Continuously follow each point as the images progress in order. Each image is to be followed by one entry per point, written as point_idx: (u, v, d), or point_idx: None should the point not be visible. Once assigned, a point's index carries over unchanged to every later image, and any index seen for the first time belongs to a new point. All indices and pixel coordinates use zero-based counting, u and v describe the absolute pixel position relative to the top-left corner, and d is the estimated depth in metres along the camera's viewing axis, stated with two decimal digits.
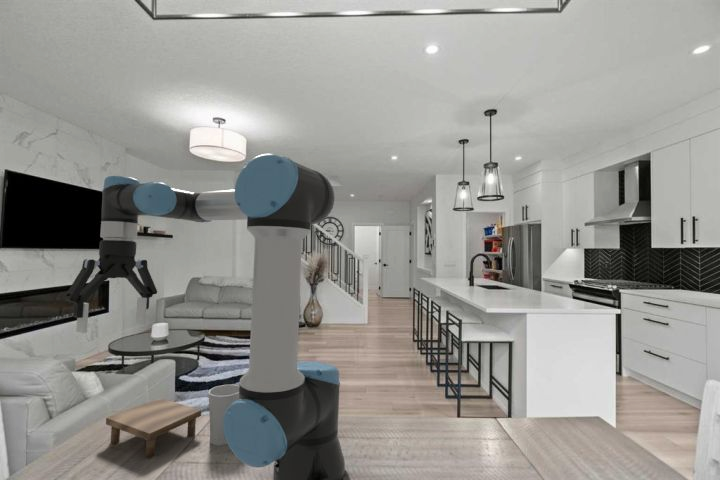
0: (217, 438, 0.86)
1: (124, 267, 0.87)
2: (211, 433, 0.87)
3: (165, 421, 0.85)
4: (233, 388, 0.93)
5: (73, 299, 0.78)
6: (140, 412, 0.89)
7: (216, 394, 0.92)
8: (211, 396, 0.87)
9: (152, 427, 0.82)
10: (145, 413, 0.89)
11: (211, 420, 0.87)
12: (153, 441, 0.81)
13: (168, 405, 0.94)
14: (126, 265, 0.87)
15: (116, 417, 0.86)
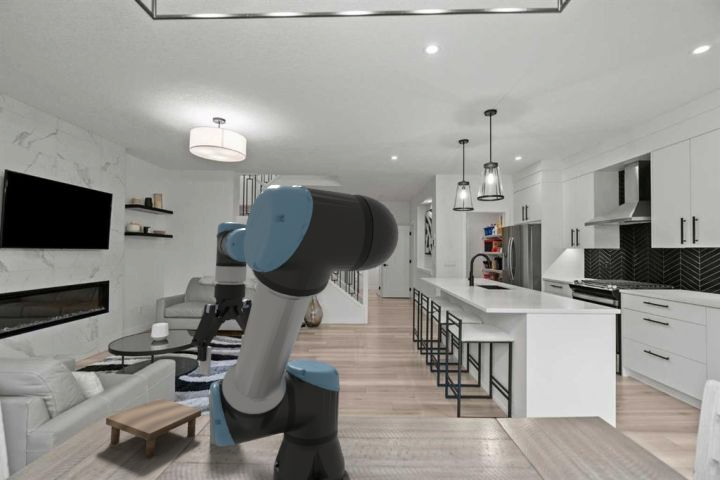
0: None
1: (236, 309, 0.91)
2: (211, 433, 0.87)
3: (165, 421, 0.85)
4: None
5: (200, 344, 0.82)
6: (140, 412, 0.89)
7: None
8: None
9: (152, 427, 0.82)
10: (145, 413, 0.89)
11: (211, 420, 0.87)
12: (153, 441, 0.81)
13: (168, 405, 0.94)
14: (238, 307, 0.91)
15: (116, 417, 0.86)
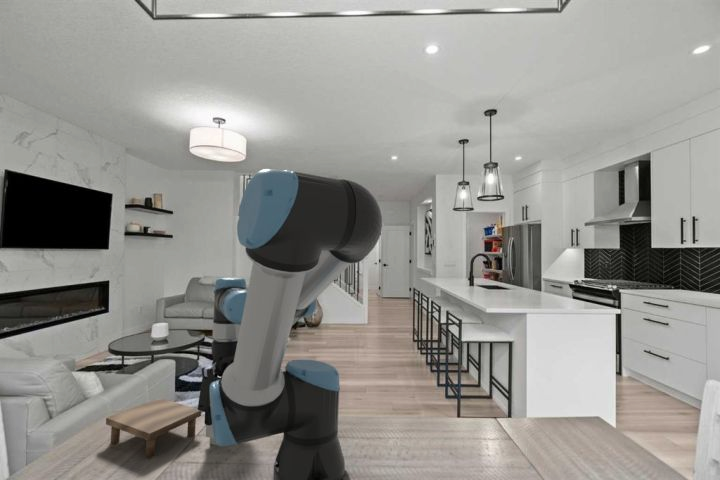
0: None
1: None
2: None
3: (165, 421, 0.85)
4: None
5: (207, 410, 0.83)
6: (140, 412, 0.89)
7: None
8: None
9: (152, 427, 0.82)
10: (145, 413, 0.89)
11: None
12: (153, 441, 0.81)
13: (168, 405, 0.94)
14: None
15: (116, 417, 0.86)
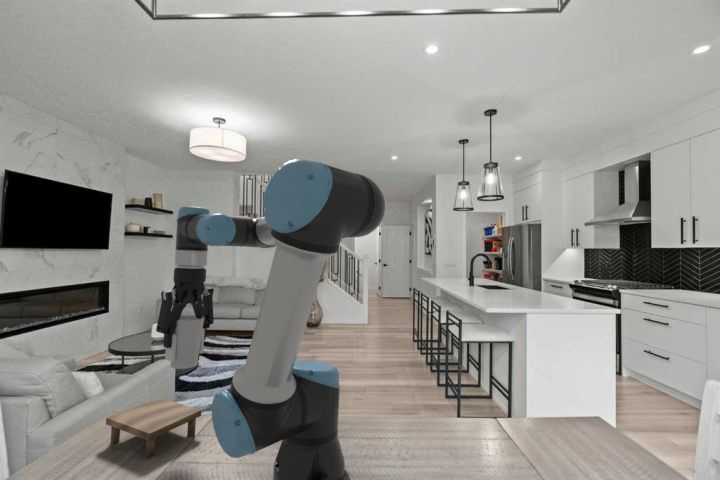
0: (176, 362, 0.88)
1: (195, 292, 0.91)
2: None
3: (165, 421, 0.85)
4: (196, 318, 0.94)
5: (165, 331, 0.84)
6: (140, 412, 0.89)
7: None
8: None
9: (152, 427, 0.82)
10: (145, 413, 0.89)
11: None
12: (153, 441, 0.81)
13: (168, 405, 0.94)
14: (198, 291, 0.91)
15: (116, 417, 0.86)
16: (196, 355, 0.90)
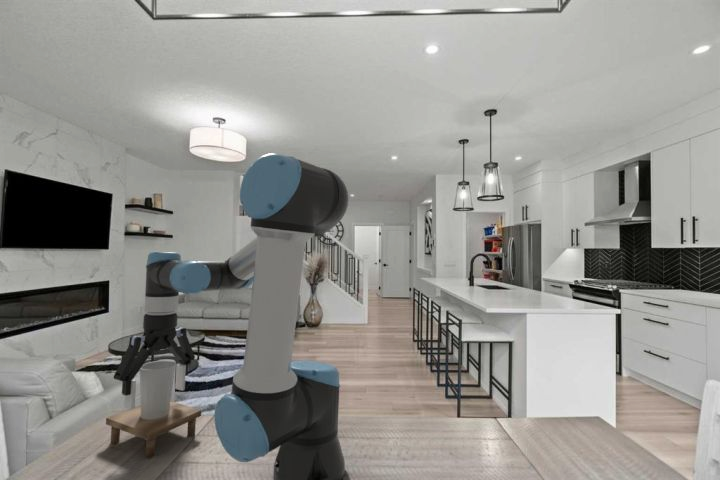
0: (147, 412, 0.86)
1: (166, 339, 0.90)
2: (141, 408, 0.87)
3: (165, 421, 0.85)
4: (168, 364, 0.93)
5: (123, 379, 0.80)
6: (140, 412, 0.89)
7: (150, 370, 0.91)
8: (141, 370, 0.86)
9: (152, 427, 0.82)
10: None
11: (141, 394, 0.86)
12: (153, 441, 0.81)
13: None
14: (168, 337, 0.90)
15: (116, 417, 0.86)
16: (167, 403, 0.89)
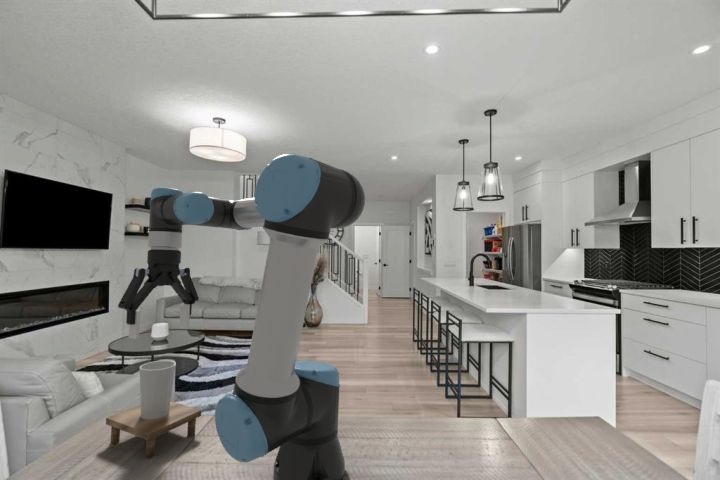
0: (147, 412, 0.86)
1: (170, 275, 0.90)
2: (141, 408, 0.87)
3: (165, 421, 0.85)
4: (168, 364, 0.93)
5: (127, 307, 0.81)
6: (140, 412, 0.89)
7: (150, 370, 0.91)
8: (141, 370, 0.86)
9: (152, 427, 0.82)
10: None
11: (141, 394, 0.86)
12: (153, 441, 0.81)
13: None
14: (172, 273, 0.91)
15: (116, 417, 0.86)
16: (167, 403, 0.89)
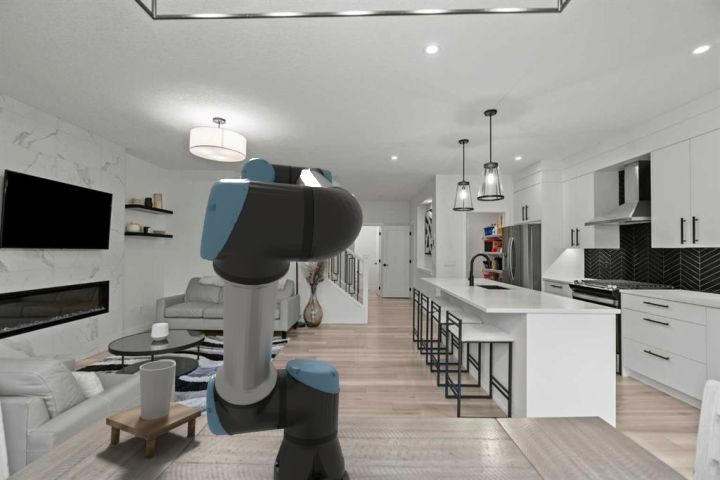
0: (147, 412, 0.86)
1: None
2: (141, 408, 0.87)
3: (165, 421, 0.85)
4: (168, 364, 0.93)
5: None
6: (140, 412, 0.89)
7: (150, 370, 0.91)
8: (141, 370, 0.86)
9: (152, 427, 0.82)
10: None
11: (141, 394, 0.86)
12: (153, 441, 0.81)
13: None
14: None
15: (116, 417, 0.86)
16: (167, 403, 0.89)
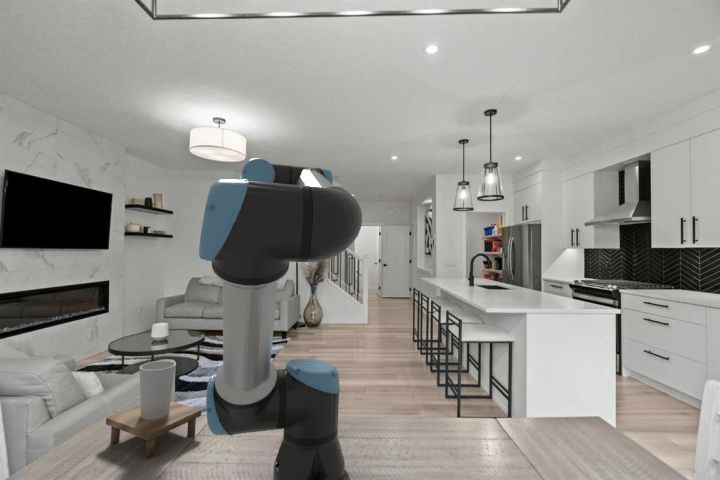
0: (147, 412, 0.86)
1: None
2: (141, 408, 0.87)
3: (165, 421, 0.85)
4: (168, 364, 0.93)
5: None
6: (140, 412, 0.89)
7: (150, 370, 0.91)
8: (141, 370, 0.86)
9: (152, 427, 0.82)
10: None
11: (141, 394, 0.86)
12: (153, 441, 0.81)
13: None
14: None
15: (116, 417, 0.86)
16: (167, 403, 0.89)
